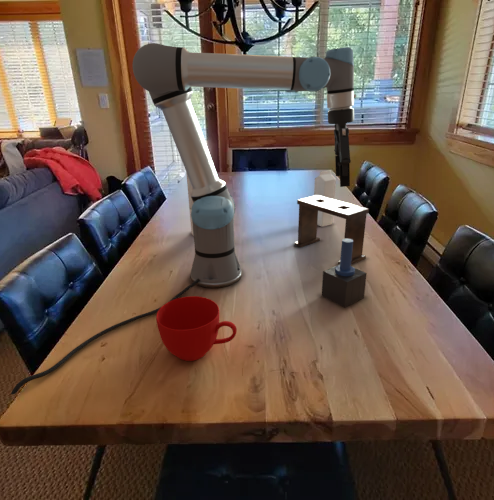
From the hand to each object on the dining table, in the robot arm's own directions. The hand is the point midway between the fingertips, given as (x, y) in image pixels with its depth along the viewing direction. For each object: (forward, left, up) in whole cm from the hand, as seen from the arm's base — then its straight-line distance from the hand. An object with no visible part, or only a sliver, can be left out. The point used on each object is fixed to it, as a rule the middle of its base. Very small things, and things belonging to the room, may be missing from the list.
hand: (342, 180), depth 116 cm
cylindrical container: (-25, +48, -26) cm, 60 cm away
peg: (-20, -19, -18) cm, 33 cm away
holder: (-20, -19, -25) cm, 38 cm away
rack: (0, +4, -25) cm, 26 cm away
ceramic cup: (-62, -15, -26) cm, 69 cm away
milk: (+20, +25, -26) cm, 41 cm away
